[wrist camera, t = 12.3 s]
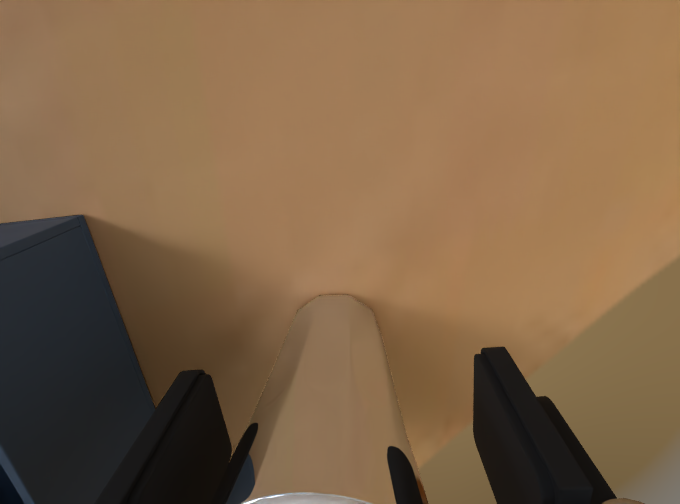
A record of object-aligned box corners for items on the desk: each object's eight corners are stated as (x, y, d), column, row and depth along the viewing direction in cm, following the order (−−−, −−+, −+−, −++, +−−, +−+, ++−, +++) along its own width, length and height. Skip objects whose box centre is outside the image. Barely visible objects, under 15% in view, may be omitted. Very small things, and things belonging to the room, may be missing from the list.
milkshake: (418, 382, 14) (535, 880, 5) (279, 382, 15) (151, 859, 5) (424, 274, 13) (610, 716, 4) (268, 276, 13) (55, 698, 4)
